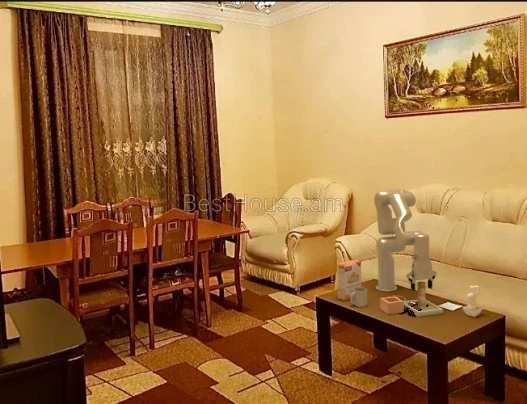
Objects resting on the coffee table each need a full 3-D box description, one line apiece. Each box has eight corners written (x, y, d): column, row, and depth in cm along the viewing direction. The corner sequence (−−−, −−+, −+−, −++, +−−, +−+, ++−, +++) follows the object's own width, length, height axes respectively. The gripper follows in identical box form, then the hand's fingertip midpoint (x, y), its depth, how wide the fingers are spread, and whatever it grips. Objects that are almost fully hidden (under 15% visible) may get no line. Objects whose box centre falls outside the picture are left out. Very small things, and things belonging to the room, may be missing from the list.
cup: (369, 305, 280) (369, 290, 279) (353, 308, 276) (353, 292, 275) (362, 302, 286) (362, 286, 285) (346, 304, 283) (346, 289, 282)
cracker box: (345, 301, 288) (344, 265, 286) (337, 299, 293) (336, 263, 290) (361, 295, 297) (361, 260, 294) (354, 293, 302) (353, 259, 299)
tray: (401, 306, 277) (401, 301, 277) (424, 303, 280) (424, 298, 280) (418, 317, 260) (418, 312, 260) (443, 313, 263) (443, 309, 263)
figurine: (461, 315, 260) (461, 286, 258) (470, 310, 266) (471, 282, 264) (474, 318, 254) (474, 289, 252) (484, 314, 260) (484, 285, 258)
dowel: (416, 307, 272) (416, 282, 270) (422, 306, 272) (422, 281, 271) (420, 310, 268) (420, 284, 266) (427, 309, 269) (427, 283, 267)
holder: (380, 308, 274) (380, 298, 273) (395, 307, 276) (395, 296, 275) (388, 314, 265) (388, 303, 264) (403, 312, 267) (403, 301, 267)
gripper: (410, 260, 261) (410, 292, 263) (440, 257, 265) (440, 289, 267) (402, 257, 268) (403, 288, 270) (432, 254, 272) (432, 285, 274)
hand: (421, 289), depth 269 cm, fingers open, 9 cm apart
